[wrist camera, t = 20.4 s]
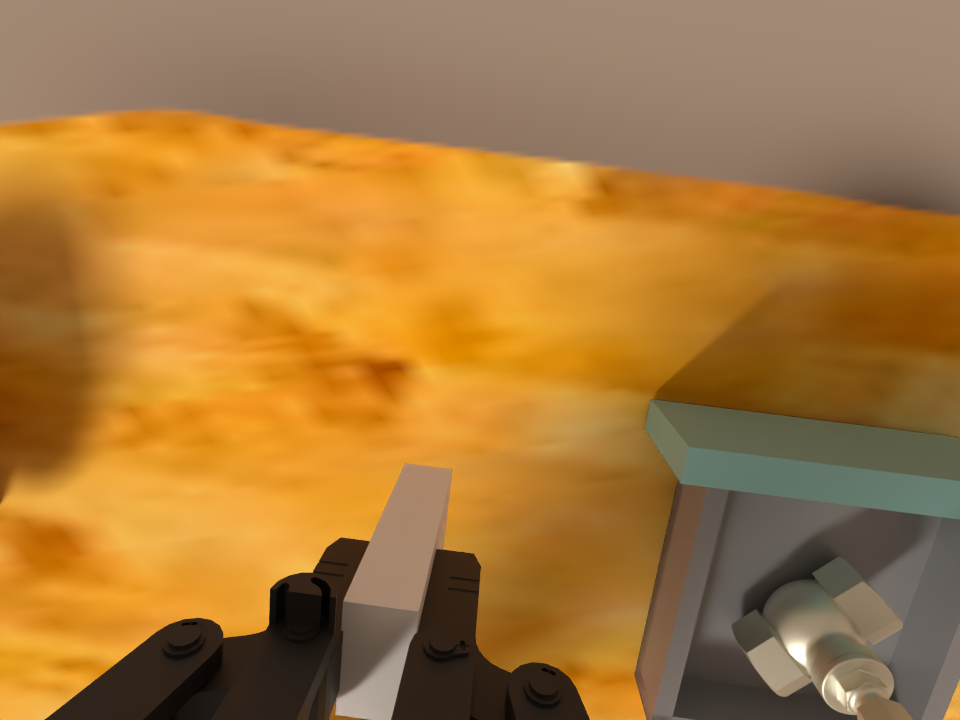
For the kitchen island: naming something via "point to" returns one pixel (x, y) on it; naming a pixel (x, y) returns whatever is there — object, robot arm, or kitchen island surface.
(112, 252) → the kitchen island surface
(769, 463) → the gate
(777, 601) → the valve
